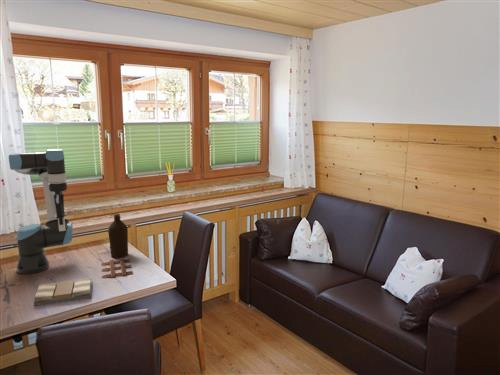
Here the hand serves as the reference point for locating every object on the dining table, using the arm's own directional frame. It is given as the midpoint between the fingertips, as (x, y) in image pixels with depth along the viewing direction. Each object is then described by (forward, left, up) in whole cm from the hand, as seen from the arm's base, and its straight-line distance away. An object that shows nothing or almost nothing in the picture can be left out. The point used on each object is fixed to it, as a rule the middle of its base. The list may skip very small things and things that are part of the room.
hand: (62, 230), depth 185 cm
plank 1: (+15, -7, -25) cm, 30 cm away
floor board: (+15, 0, -26) cm, 30 cm away
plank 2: (+15, +8, -25) cm, 30 cm away
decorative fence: (-9, +23, -27) cm, 37 cm away
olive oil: (-29, +25, -27) cm, 47 cm away
